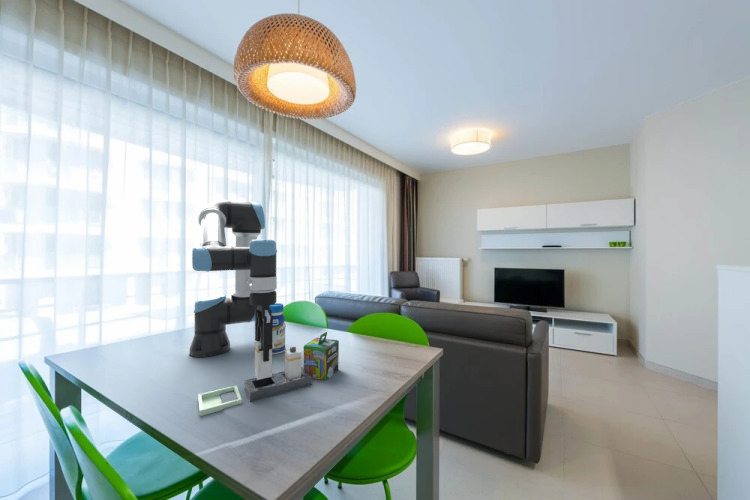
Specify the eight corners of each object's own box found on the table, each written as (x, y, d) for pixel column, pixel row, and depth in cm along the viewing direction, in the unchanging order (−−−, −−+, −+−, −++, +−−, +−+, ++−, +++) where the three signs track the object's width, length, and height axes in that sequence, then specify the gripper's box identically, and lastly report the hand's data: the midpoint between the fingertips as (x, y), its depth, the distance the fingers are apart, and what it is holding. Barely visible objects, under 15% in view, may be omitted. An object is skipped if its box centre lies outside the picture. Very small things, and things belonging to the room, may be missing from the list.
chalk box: (316, 368, 104) (316, 328, 104) (339, 372, 101) (339, 330, 101) (302, 379, 95) (302, 335, 95) (326, 383, 92) (326, 338, 92)
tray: (198, 401, 81) (198, 394, 81) (236, 391, 87) (236, 385, 87) (199, 418, 73) (199, 410, 73) (242, 406, 79) (241, 399, 79)
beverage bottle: (270, 347, 126) (270, 302, 126) (288, 348, 125) (288, 303, 125) (260, 354, 118) (260, 306, 118) (279, 355, 117) (279, 306, 117)
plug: (254, 374, 86) (254, 337, 86) (268, 371, 88) (268, 335, 88) (257, 379, 83) (257, 341, 83) (272, 376, 85) (271, 338, 85)
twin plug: (284, 382, 91) (284, 347, 91) (297, 378, 93) (297, 344, 93) (288, 387, 88) (288, 350, 88) (301, 383, 90) (301, 348, 90)
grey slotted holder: (244, 391, 87) (244, 380, 87) (301, 377, 97) (301, 366, 97) (250, 405, 79) (250, 392, 79) (311, 387, 89) (311, 376, 89)
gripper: (244, 288, 91) (244, 362, 91) (255, 295, 76) (256, 382, 76) (269, 287, 95) (269, 357, 95) (284, 293, 81) (284, 376, 81)
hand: (263, 368), depth 86 cm, fingers closed on plug, 4 cm apart
